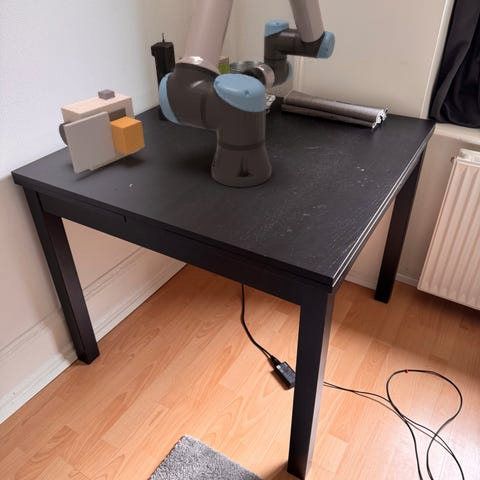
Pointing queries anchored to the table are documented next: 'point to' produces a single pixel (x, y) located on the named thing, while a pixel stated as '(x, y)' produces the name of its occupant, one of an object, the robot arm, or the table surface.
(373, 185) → the table surface
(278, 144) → the table surface
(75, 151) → the side door
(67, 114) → the camera housing
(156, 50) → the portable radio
